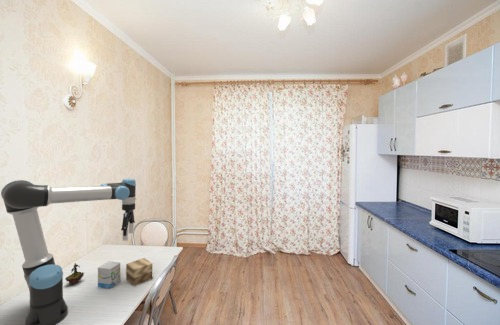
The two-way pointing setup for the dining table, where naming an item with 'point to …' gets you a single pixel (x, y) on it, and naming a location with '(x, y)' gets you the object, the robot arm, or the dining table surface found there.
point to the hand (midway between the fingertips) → (128, 236)
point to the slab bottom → (138, 278)
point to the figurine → (74, 275)
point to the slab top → (139, 267)
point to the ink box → (108, 274)
